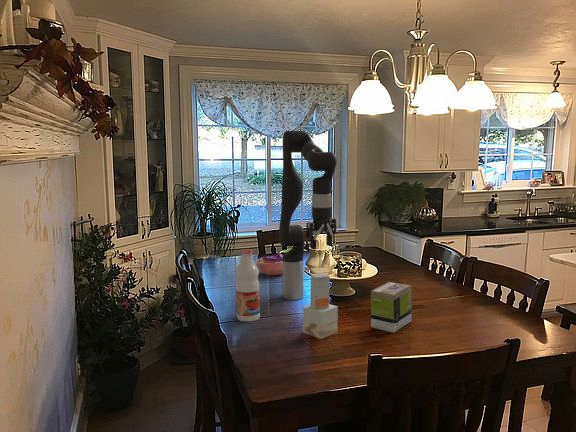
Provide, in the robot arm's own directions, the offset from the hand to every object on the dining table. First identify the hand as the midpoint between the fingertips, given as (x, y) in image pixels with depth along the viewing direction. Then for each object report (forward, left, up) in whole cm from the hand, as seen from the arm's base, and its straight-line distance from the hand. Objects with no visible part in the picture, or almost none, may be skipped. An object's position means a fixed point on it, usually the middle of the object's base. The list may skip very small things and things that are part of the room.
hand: (321, 247), depth 184 cm
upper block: (+6, -8, -25) cm, 27 cm away
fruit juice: (-25, -17, -30) cm, 42 cm away
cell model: (-69, +36, -30) cm, 83 cm away
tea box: (+20, +17, -30) cm, 40 cm away
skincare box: (+6, -8, -20) cm, 23 cm away
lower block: (+6, -8, -30) cm, 32 cm away
